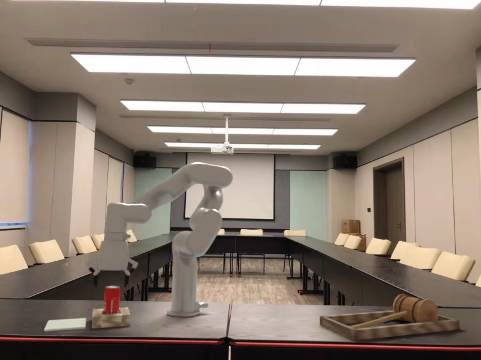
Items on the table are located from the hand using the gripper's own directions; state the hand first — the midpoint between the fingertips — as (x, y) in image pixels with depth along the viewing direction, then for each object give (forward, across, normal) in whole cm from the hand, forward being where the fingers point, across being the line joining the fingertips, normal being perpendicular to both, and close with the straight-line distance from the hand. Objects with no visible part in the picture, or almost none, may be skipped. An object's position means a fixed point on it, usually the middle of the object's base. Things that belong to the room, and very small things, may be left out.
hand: (110, 286), depth 131 cm
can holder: (+12, -1, 0) cm, 12 cm away
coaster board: (+12, +13, 0) cm, 18 cm away
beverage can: (+12, -1, 0) cm, 12 cm away
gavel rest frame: (+10, -93, +33) cm, 99 cm away
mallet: (+10, -92, +33) cm, 98 cm away
